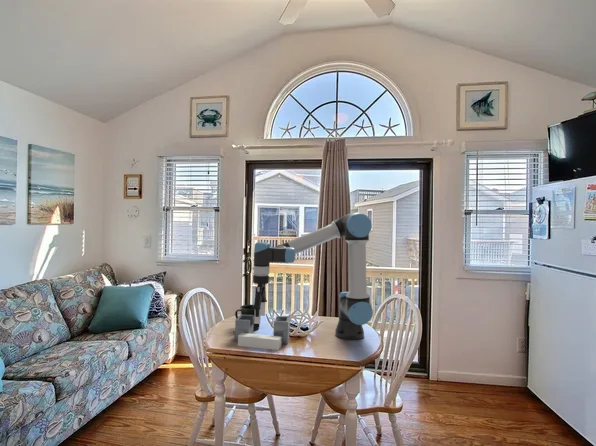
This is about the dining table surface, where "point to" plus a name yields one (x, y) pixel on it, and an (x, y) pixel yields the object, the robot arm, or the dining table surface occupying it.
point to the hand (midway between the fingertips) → (259, 319)
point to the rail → (259, 341)
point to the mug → (248, 313)
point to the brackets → (280, 326)
